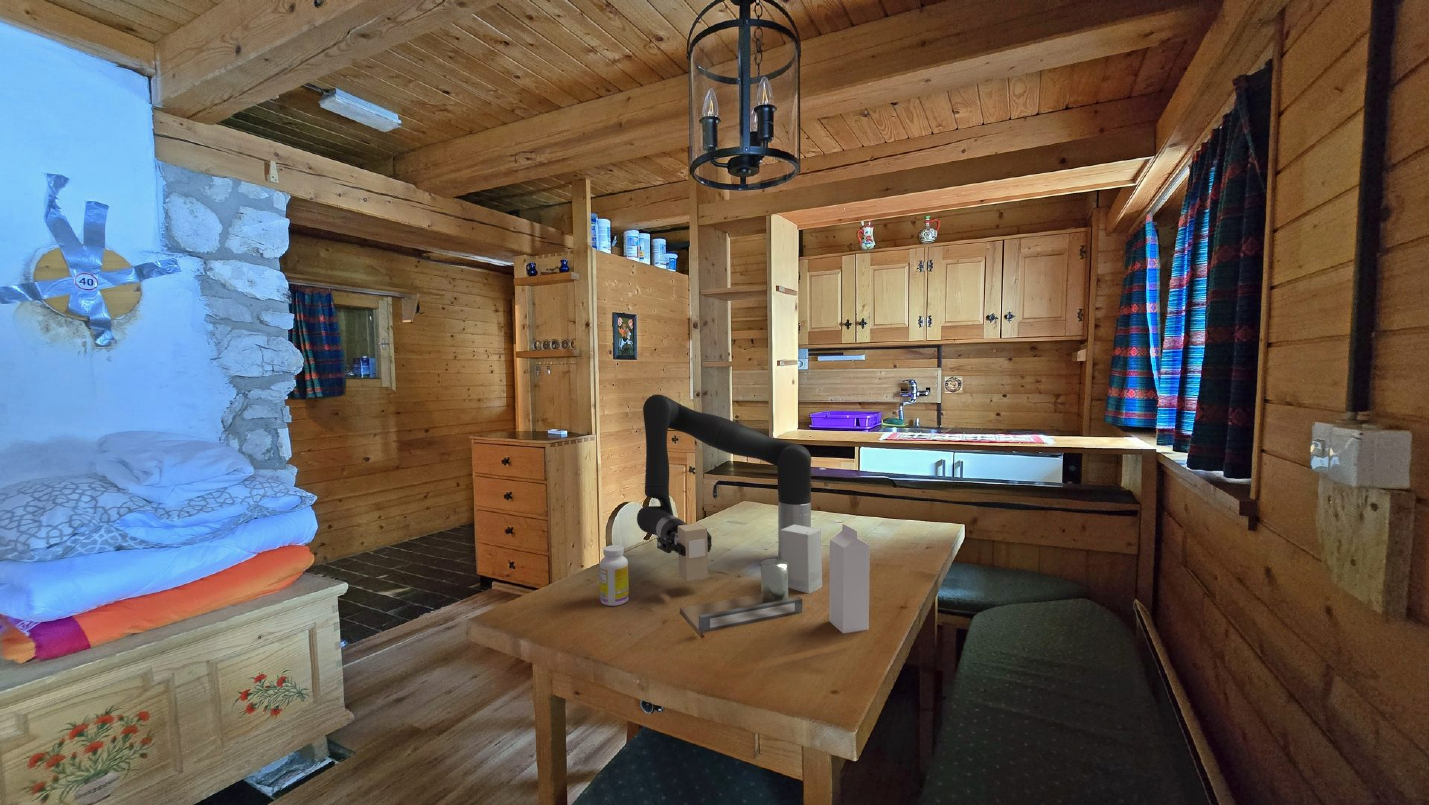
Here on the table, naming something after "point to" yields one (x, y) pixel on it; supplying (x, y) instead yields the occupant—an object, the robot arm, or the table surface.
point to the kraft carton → (693, 551)
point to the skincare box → (802, 557)
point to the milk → (849, 581)
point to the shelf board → (737, 612)
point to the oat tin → (774, 580)
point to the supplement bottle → (614, 576)
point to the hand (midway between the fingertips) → (696, 550)
